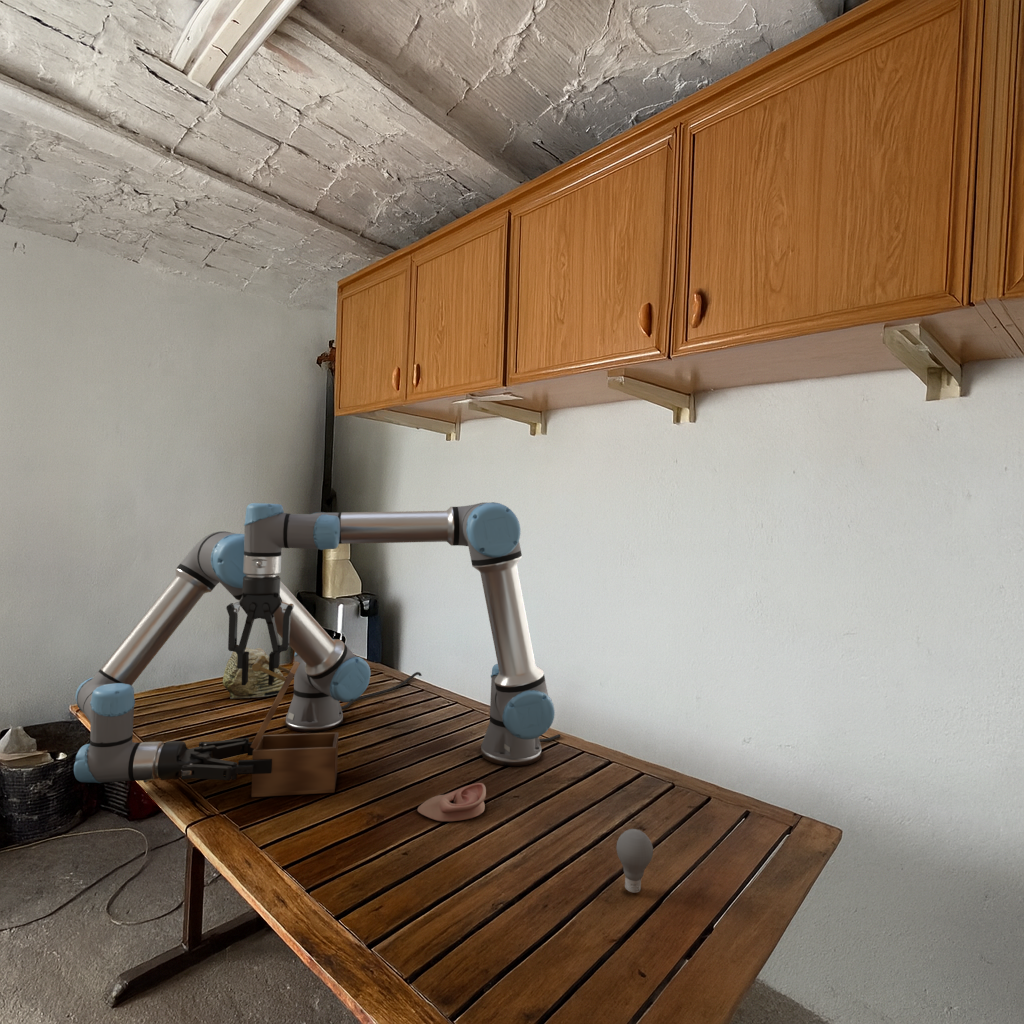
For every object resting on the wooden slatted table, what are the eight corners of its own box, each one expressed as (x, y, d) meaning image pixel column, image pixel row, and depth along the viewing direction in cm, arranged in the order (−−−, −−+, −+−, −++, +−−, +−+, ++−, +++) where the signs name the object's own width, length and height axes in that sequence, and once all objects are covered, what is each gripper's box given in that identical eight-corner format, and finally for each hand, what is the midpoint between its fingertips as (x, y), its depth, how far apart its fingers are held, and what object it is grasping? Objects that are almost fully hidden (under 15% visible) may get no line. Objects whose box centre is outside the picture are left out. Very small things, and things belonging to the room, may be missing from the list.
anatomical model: (412, 797, 126) (431, 773, 138) (411, 817, 126) (430, 791, 138) (476, 807, 124) (490, 781, 135) (476, 827, 124) (489, 800, 135)
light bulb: (610, 879, 108) (613, 822, 108) (644, 879, 109) (647, 822, 109) (619, 902, 102) (622, 840, 102) (655, 901, 103) (658, 840, 103)
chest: (337, 774, 144) (338, 732, 144) (334, 792, 136) (335, 747, 135) (259, 778, 141) (260, 735, 141) (251, 797, 132) (252, 751, 132)
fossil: (218, 695, 195) (220, 647, 195) (278, 685, 208) (279, 640, 207) (228, 703, 189) (230, 653, 188) (289, 692, 201) (290, 645, 201)
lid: (300, 662, 142) (264, 647, 141) (294, 674, 133) (256, 657, 132) (263, 733, 141) (226, 718, 139) (255, 749, 132) (216, 733, 130)
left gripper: (177, 757, 143) (282, 753, 148) (142, 803, 122) (265, 797, 127) (178, 724, 143) (283, 721, 148) (143, 764, 122) (267, 760, 127)
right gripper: (213, 576, 130) (209, 689, 131) (303, 578, 134) (298, 687, 134) (222, 572, 138) (218, 678, 138) (307, 573, 141) (303, 677, 142)
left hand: (275, 756), depth 137 cm, fingers closed on chest, 9 cm apart
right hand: (258, 682), depth 136 cm, fingers open, 5 cm apart
